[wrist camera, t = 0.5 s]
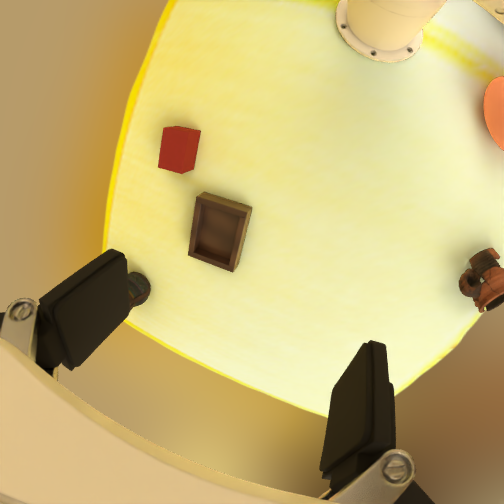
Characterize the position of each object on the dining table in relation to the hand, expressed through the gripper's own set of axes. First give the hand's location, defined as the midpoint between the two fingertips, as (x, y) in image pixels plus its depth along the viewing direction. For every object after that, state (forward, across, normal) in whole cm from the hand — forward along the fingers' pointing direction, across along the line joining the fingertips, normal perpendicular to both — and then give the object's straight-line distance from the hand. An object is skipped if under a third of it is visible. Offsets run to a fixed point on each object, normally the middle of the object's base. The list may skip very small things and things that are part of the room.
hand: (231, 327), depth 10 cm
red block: (+34, +21, +1) cm, 40 cm away
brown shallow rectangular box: (+34, +12, +13) cm, 39 cm away
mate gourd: (+35, +29, +32) cm, 55 cm away
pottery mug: (+34, -33, +6) cm, 48 cm away
